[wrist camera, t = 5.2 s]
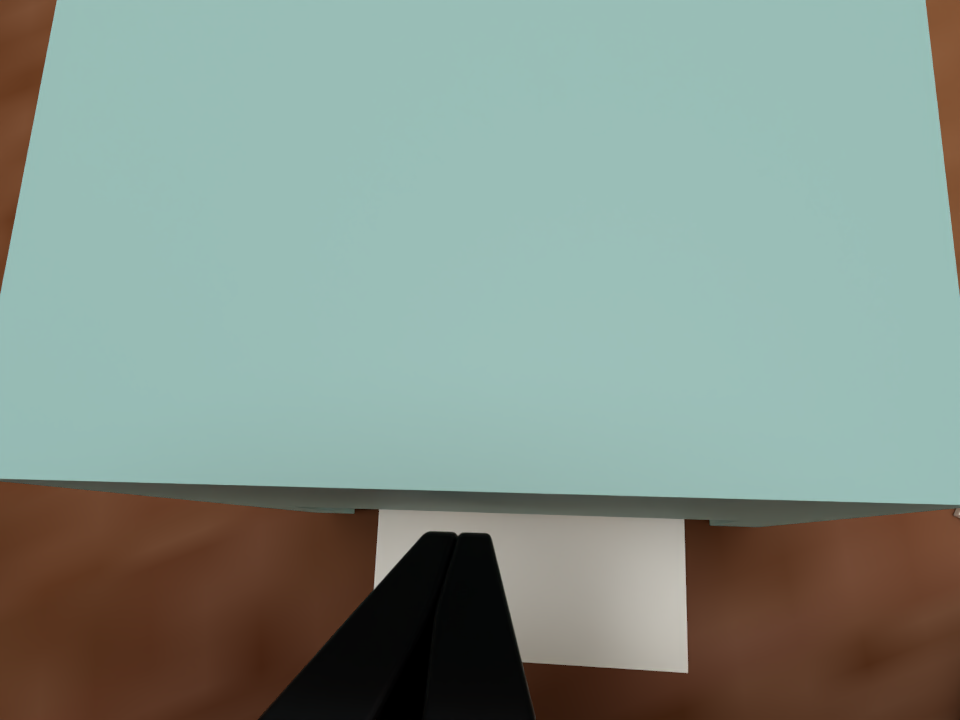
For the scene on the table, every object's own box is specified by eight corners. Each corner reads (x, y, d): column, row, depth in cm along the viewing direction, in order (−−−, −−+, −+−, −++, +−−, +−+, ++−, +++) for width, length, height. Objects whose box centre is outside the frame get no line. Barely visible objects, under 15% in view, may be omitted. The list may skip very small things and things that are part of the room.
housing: (758, 527, 16) (984, 505, 6) (313, 512, 18) (-35, 477, 8) (739, 145, 18) (890, -305, 8) (343, 164, 20) (94, -193, 10)
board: (685, 668, 16) (702, 696, 13) (377, 648, 18) (330, 670, 15) (672, 167, 19) (684, 99, 16) (407, 179, 20) (373, 117, 17)
